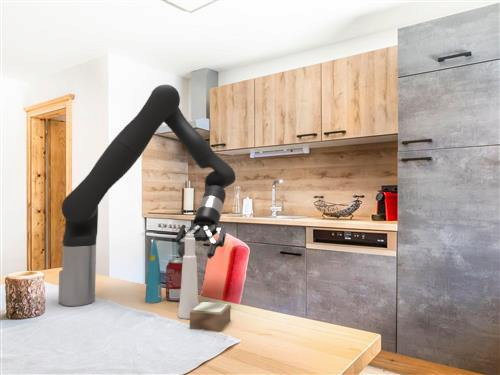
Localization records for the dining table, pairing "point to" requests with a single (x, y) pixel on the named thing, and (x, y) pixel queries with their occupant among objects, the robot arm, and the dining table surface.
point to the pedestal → (210, 316)
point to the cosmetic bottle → (188, 279)
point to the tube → (153, 277)
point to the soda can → (174, 279)
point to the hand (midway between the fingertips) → (194, 256)
